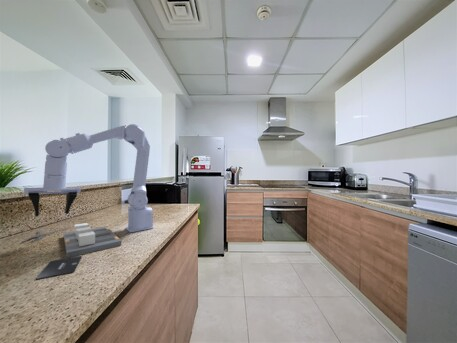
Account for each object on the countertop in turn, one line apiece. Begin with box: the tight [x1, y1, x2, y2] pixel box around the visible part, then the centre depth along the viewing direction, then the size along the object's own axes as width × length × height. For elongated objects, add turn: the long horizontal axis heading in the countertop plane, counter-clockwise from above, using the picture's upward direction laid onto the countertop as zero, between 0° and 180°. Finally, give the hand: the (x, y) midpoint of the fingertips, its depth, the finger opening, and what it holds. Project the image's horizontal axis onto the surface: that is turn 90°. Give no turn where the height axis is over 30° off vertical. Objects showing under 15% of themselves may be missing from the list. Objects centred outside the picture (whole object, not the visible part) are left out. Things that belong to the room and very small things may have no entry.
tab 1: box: [73, 222, 90, 235], centre depth 72 cm, size 4×4×3 cm
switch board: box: [63, 225, 122, 258], centre depth 68 cm, size 14×23×2 cm, turn 43°
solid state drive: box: [35, 255, 82, 281], centre depth 50 cm, size 7×10×1 cm
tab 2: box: [76, 226, 93, 240], centre depth 67 cm, size 4×4×3 cm
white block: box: [78, 232, 95, 247], centre depth 62 cm, size 4×4×3 cm
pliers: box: [21, 225, 71, 244], centre depth 76 cm, size 10×1×20 cm
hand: (52, 214), depth 67 cm, fingers open, 7 cm apart
